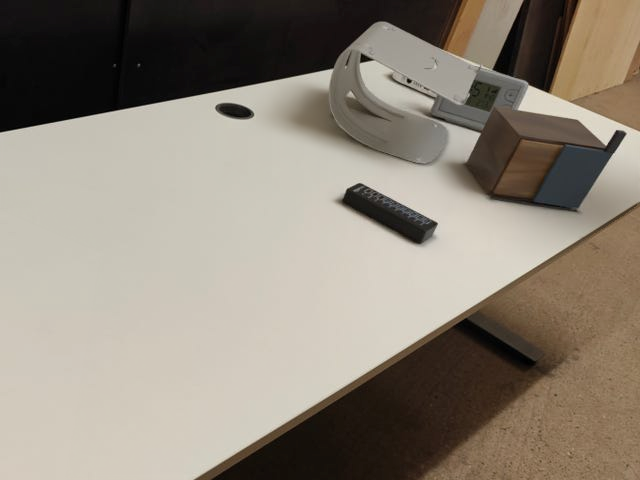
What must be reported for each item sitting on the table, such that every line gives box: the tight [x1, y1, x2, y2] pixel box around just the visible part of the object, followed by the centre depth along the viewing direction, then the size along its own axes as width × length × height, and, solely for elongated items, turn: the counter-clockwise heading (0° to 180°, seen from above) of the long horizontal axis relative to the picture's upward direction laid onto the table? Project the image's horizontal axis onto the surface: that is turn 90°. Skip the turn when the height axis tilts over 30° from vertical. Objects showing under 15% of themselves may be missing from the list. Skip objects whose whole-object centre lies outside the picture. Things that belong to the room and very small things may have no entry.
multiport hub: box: [341, 182, 439, 245], centre depth 105 cm, size 4×14×2 cm, turn 45°
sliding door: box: [531, 129, 628, 209], centre depth 113 cm, size 1×8×14 cm, turn 89°
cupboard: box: [466, 106, 607, 213], centre depth 119 cm, size 14×16×11 cm
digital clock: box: [430, 65, 529, 133], centre depth 139 cm, size 16×9×11 cm, turn 54°
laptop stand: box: [328, 21, 483, 165], centre depth 128 cm, size 26×24×16 cm
